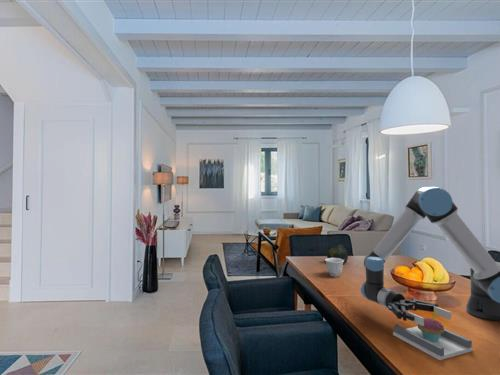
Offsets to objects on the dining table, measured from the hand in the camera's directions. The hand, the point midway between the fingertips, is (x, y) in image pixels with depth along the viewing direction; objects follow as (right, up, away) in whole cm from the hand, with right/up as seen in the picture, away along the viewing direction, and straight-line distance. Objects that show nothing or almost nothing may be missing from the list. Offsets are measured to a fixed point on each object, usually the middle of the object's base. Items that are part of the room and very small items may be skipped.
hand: (437, 318), depth 118 cm
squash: (-3, -9, +124) cm, 125 cm away
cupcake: (-1, -9, +3) cm, 9 cm away
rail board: (-1, -10, +3) cm, 10 cm away
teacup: (-13, -9, +94) cm, 95 cm away
